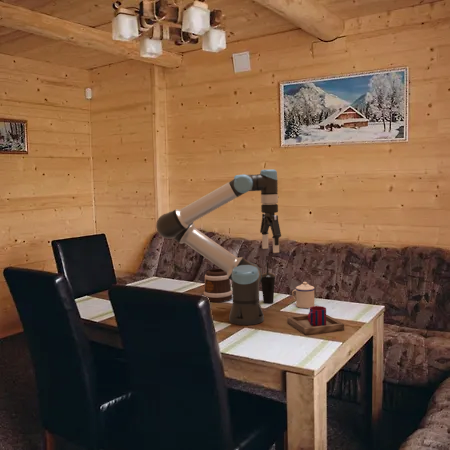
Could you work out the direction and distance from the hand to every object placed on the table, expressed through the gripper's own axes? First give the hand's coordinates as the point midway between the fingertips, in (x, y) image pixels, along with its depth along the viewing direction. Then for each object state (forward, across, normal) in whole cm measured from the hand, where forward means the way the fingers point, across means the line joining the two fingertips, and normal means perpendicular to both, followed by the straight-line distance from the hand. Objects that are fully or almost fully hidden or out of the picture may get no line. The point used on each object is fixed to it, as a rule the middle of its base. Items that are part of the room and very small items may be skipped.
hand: (270, 250), depth 227 cm
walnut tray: (+29, -27, -9) cm, 40 cm away
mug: (+29, +36, +18) cm, 49 cm away
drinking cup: (+29, +17, -5) cm, 34 cm away
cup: (+28, -28, -8) cm, 40 cm away
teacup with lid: (+29, +5, -18) cm, 34 cm away
